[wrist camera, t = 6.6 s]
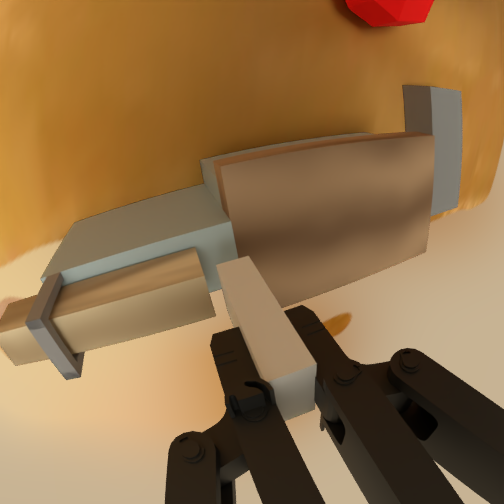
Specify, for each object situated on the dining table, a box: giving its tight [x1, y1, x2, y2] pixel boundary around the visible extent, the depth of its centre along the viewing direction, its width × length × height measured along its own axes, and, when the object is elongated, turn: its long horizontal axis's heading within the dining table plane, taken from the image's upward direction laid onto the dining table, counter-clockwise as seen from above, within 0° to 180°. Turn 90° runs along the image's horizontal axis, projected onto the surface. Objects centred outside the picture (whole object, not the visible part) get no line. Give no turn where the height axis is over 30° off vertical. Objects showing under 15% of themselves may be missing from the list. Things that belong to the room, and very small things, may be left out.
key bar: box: [0, 247, 216, 366], centre depth 14 cm, size 2×12×3 cm, turn 100°
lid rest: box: [403, 85, 462, 216], centre depth 27 cm, size 14×6×4 cm, turn 10°
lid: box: [213, 131, 435, 308], centre depth 19 cm, size 10×16×2 cm, turn 100°
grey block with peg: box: [25, 184, 238, 380], centre depth 18 cm, size 4×12×13 cm, turn 100°
